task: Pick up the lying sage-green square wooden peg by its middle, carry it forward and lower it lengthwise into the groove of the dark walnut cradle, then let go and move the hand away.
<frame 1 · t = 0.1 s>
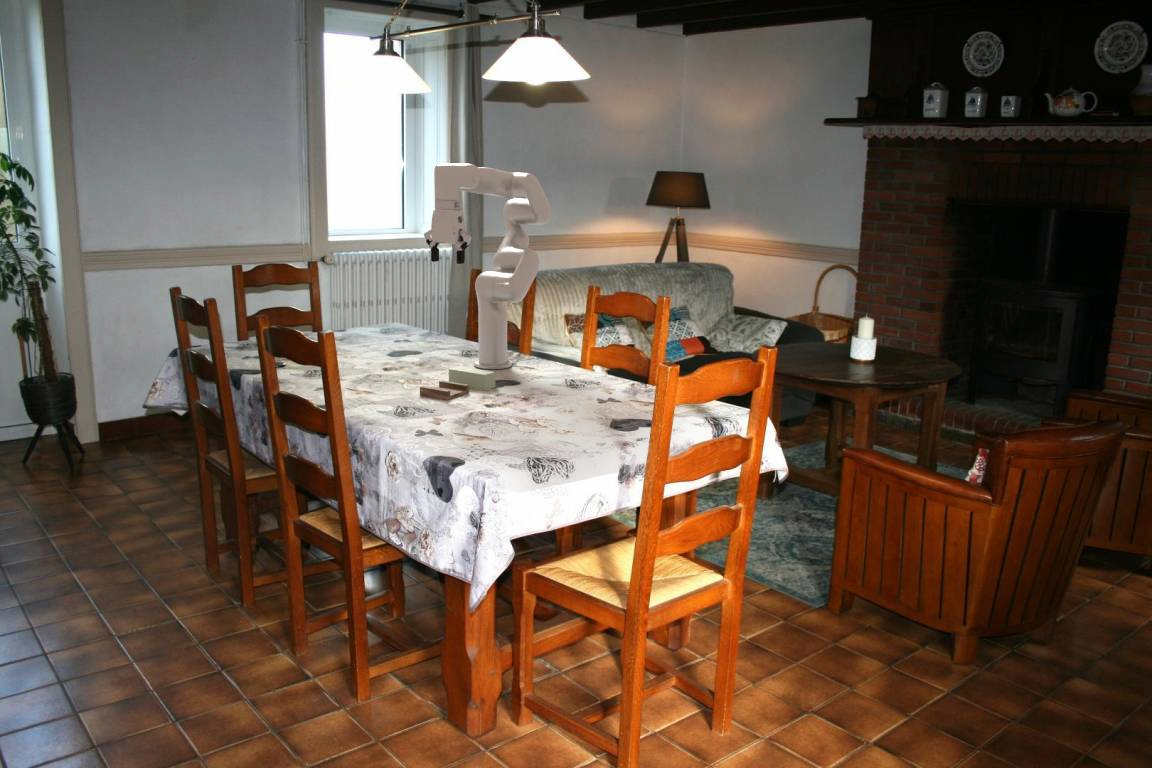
hand: (447, 262, 303), 36 cm above the table, tool pointing down, fingers open, 9 cm apart
peg: (472, 386, 302), on the table
cradle: (444, 394, 291), on the table
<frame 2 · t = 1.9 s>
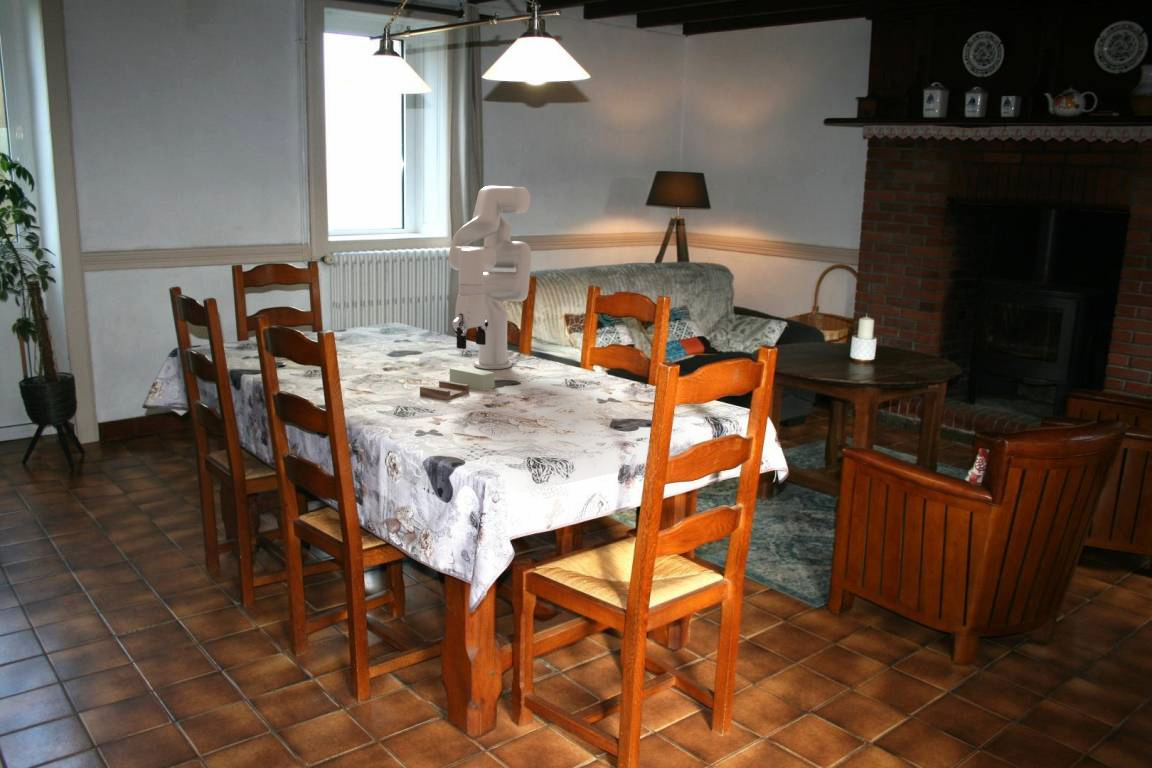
hand: (471, 346, 299), 12 cm above the table, tool pointing down, fingers open, 9 cm apart
nothing on the table moved.
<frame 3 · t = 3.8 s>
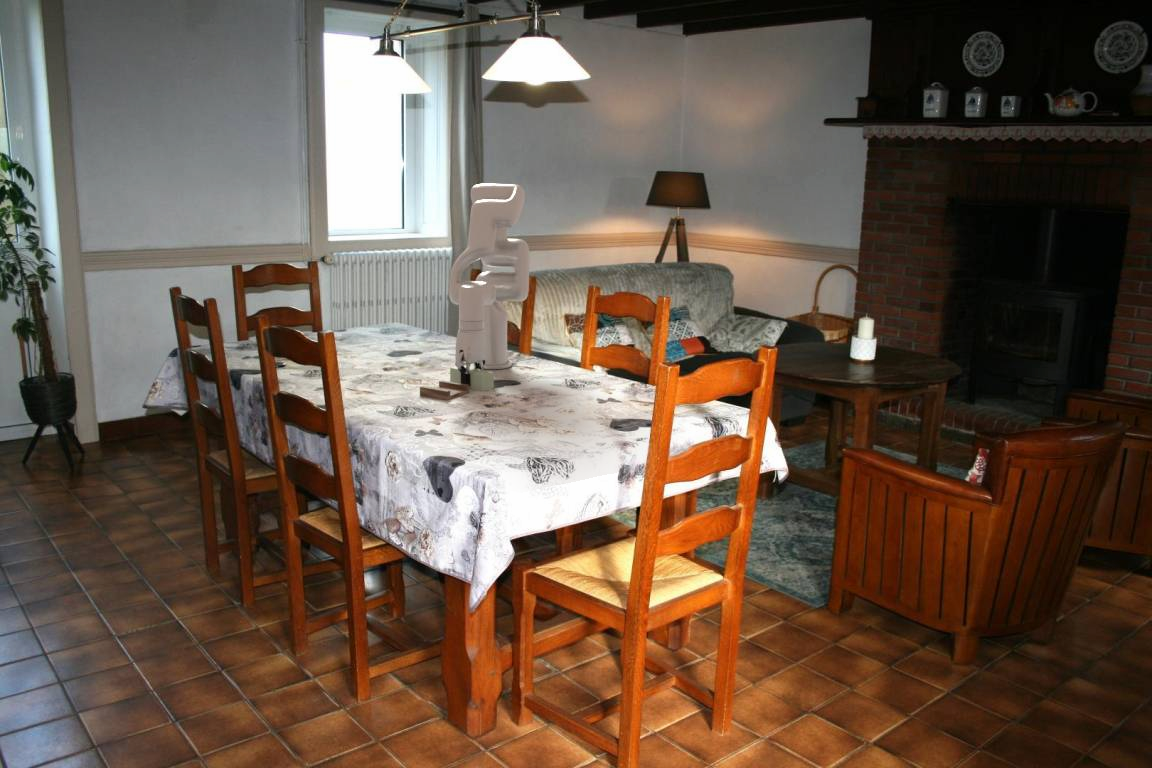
hand: (471, 383, 302), 1 cm above the table, tool pointing down, fingers closed on peg, 5 cm apart
peg: (471, 385, 302), on the table, touching gripper
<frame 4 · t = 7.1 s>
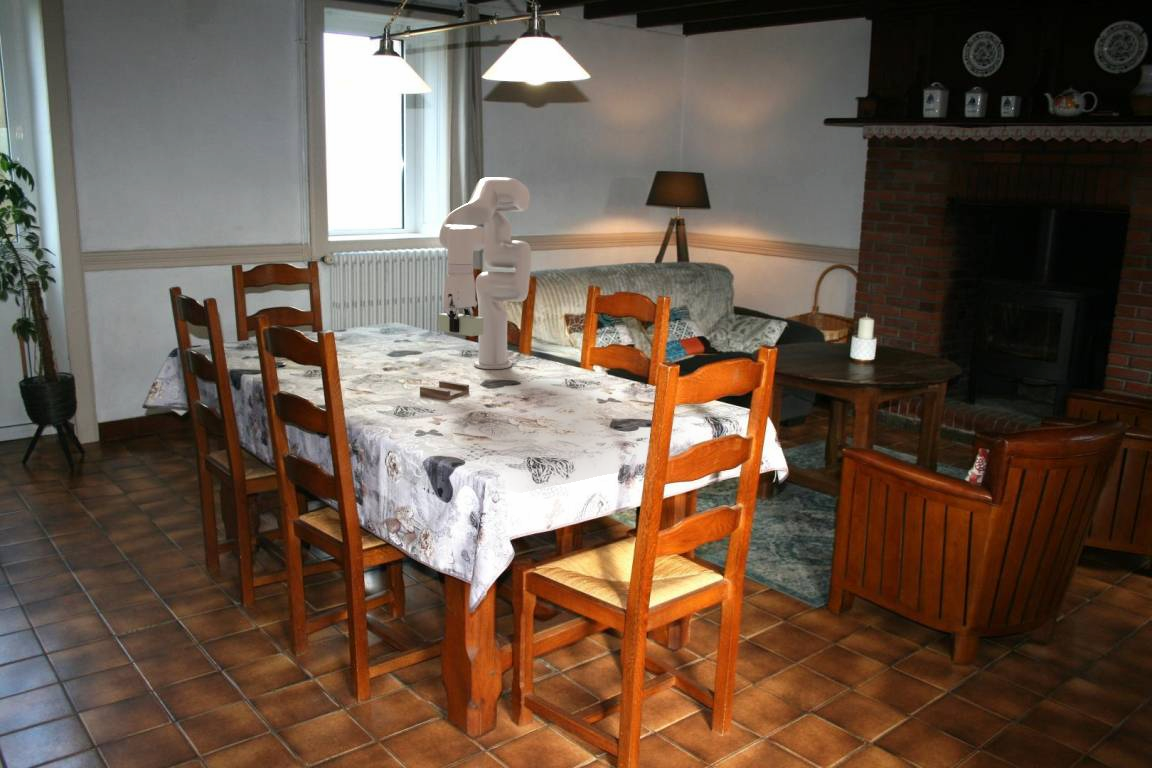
hand: (460, 330, 293), 18 cm above the table, tool pointing down, fingers closed on peg, 5 cm apart
peg: (460, 332, 293), point 17 cm above the table, touching gripper
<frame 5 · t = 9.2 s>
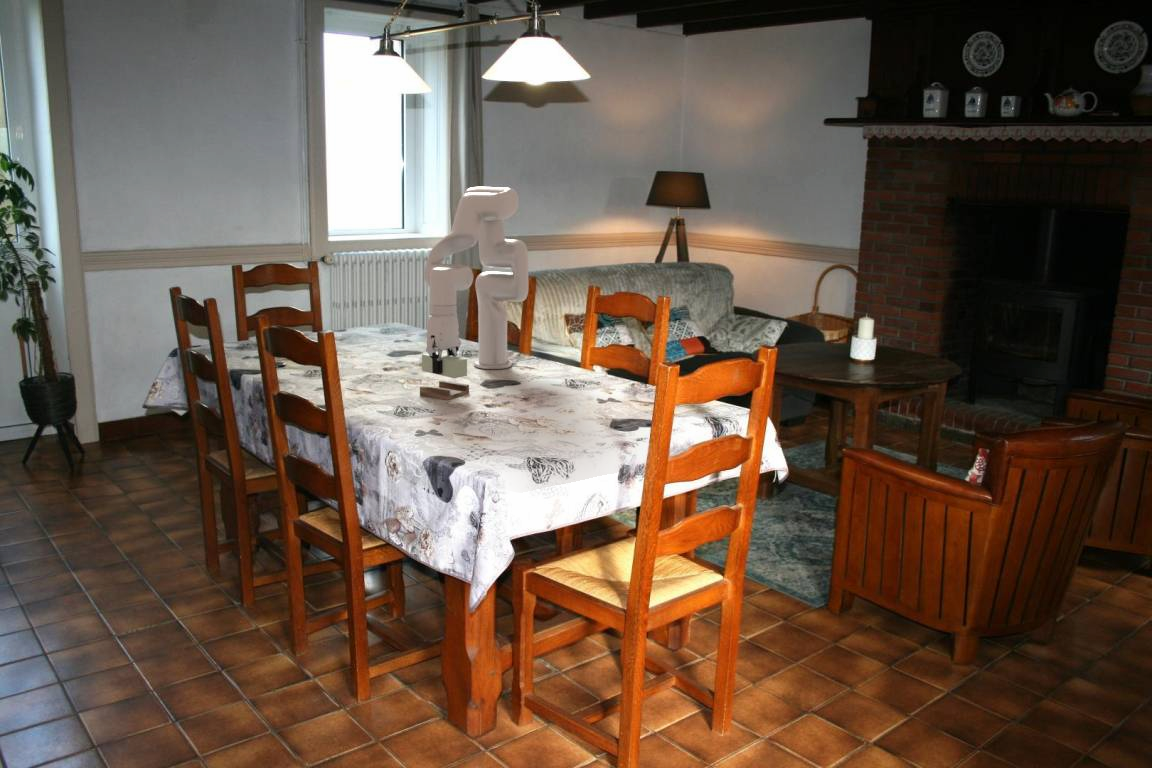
hand: (444, 371, 289), 7 cm above the table, tool pointing down, fingers closed on peg, 5 cm apart
peg: (444, 373, 289), point 6 cm above the table, touching gripper
when the fingers open (3 cm above the table, at t = 10.7 s): peg drops 2 cm, resting on cradle.
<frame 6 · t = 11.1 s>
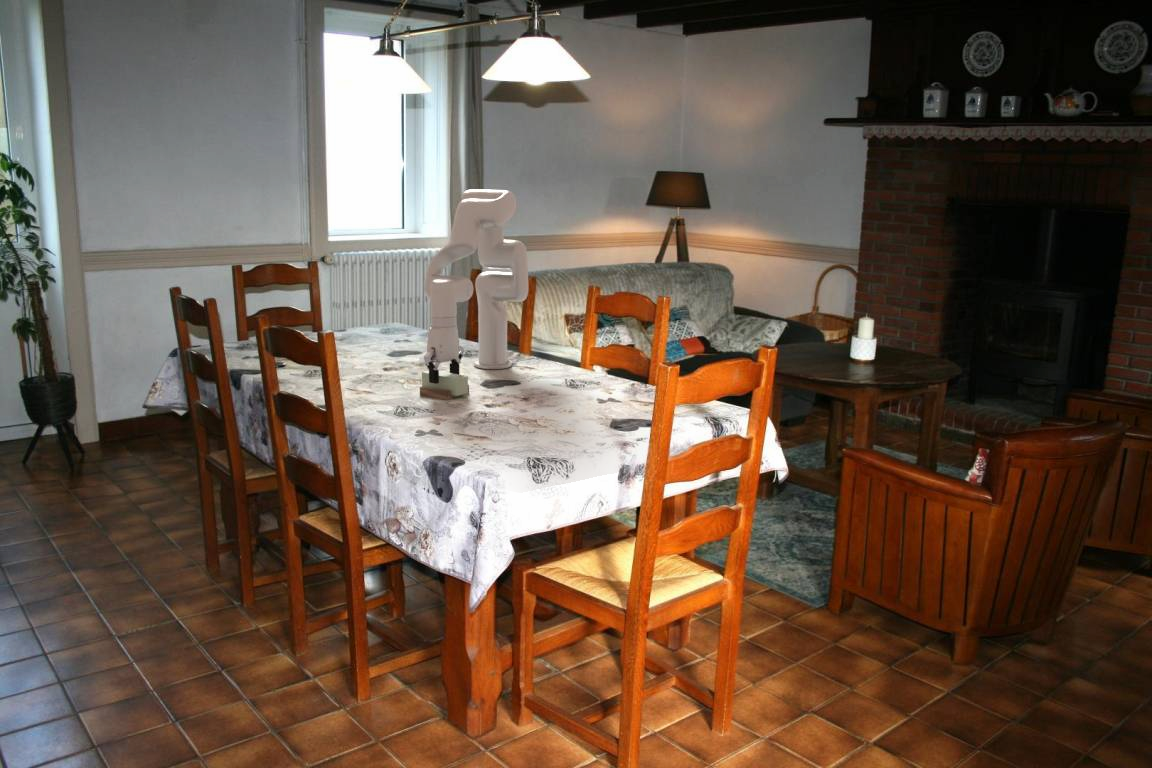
hand: (444, 379, 290), 4 cm above the table, tool pointing down, fingers open, 9 cm apart
peg: (444, 390, 290), point 1 cm above the table, touching cradle
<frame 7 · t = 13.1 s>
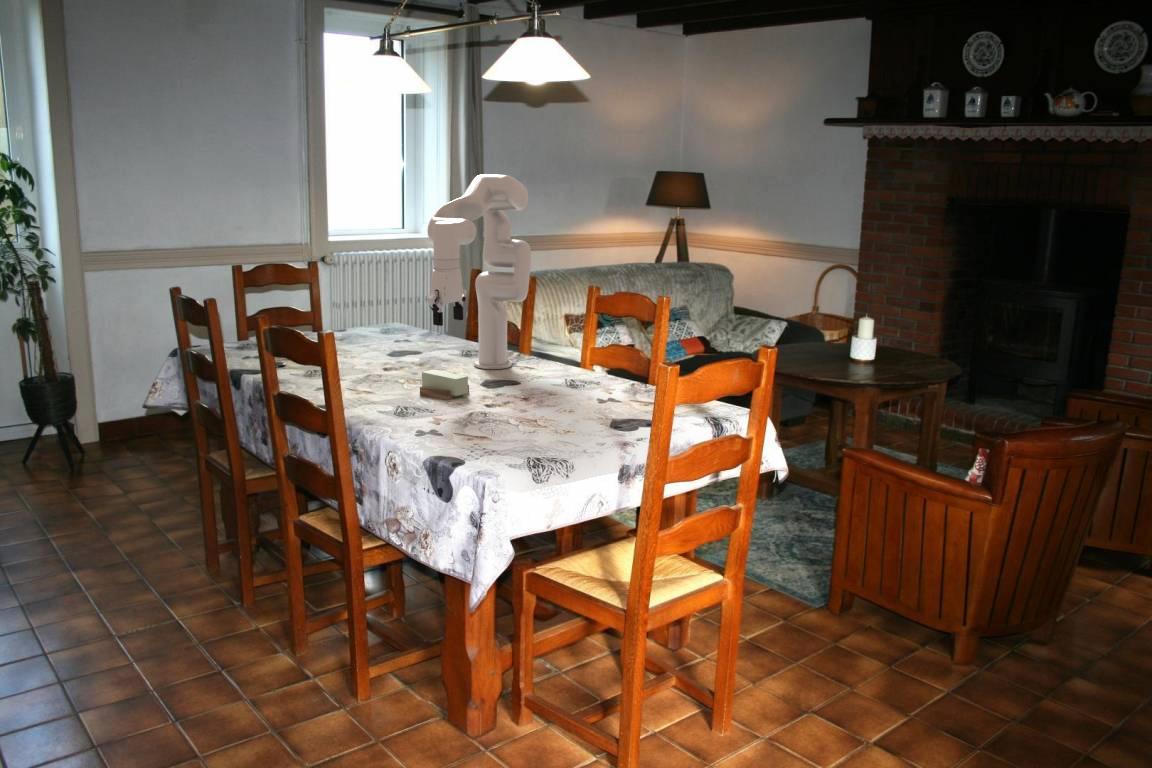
hand: (448, 322, 291), 20 cm above the table, tool pointing down, fingers open, 9 cm apart
nothing on the table moved.
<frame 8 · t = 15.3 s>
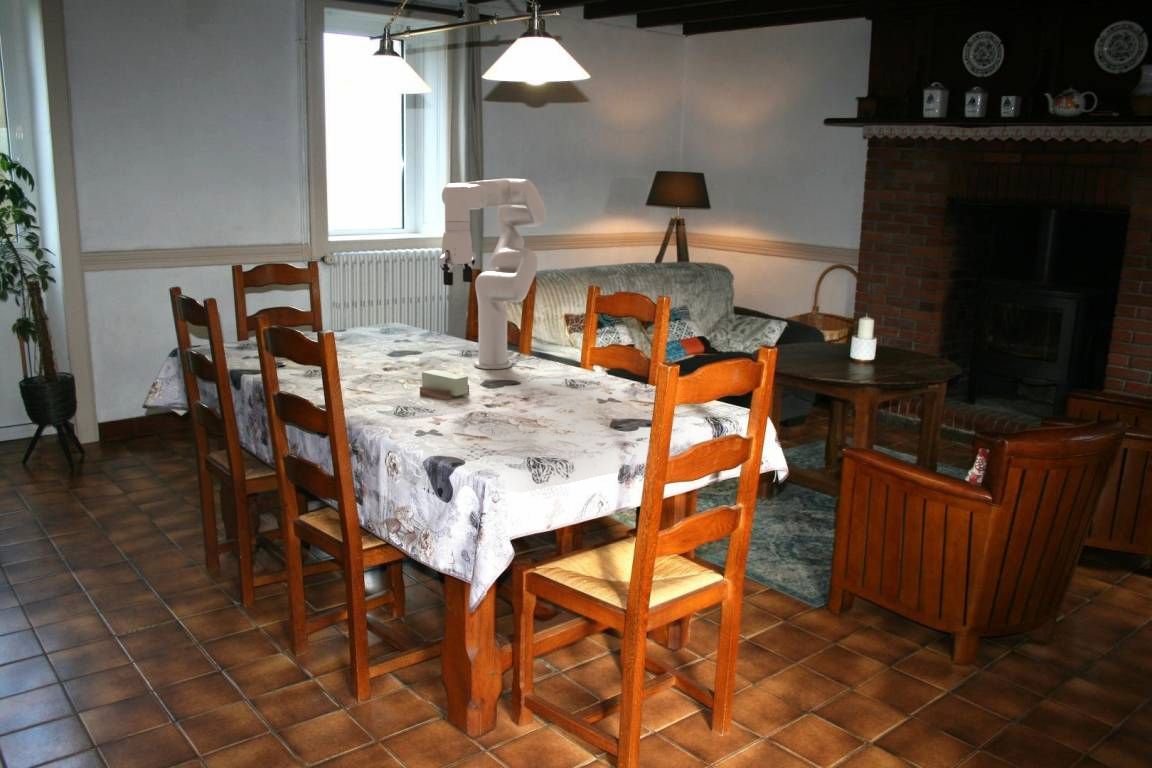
hand: (458, 283, 302), 30 cm above the table, tool pointing down, fingers open, 9 cm apart
nothing on the table moved.
at the end: peg 0.1 cm off-centre on the cradle, point 1.0 cm above the cradle's base; peg touching cradle; the gripper is holding nothing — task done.
